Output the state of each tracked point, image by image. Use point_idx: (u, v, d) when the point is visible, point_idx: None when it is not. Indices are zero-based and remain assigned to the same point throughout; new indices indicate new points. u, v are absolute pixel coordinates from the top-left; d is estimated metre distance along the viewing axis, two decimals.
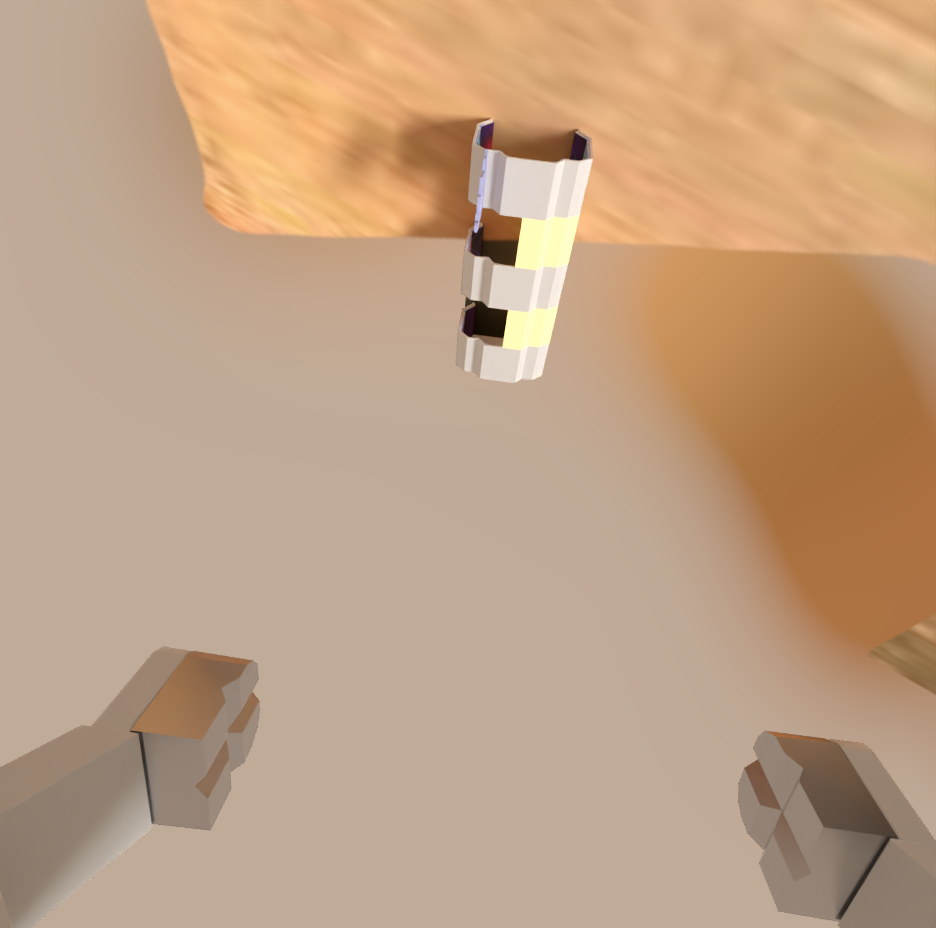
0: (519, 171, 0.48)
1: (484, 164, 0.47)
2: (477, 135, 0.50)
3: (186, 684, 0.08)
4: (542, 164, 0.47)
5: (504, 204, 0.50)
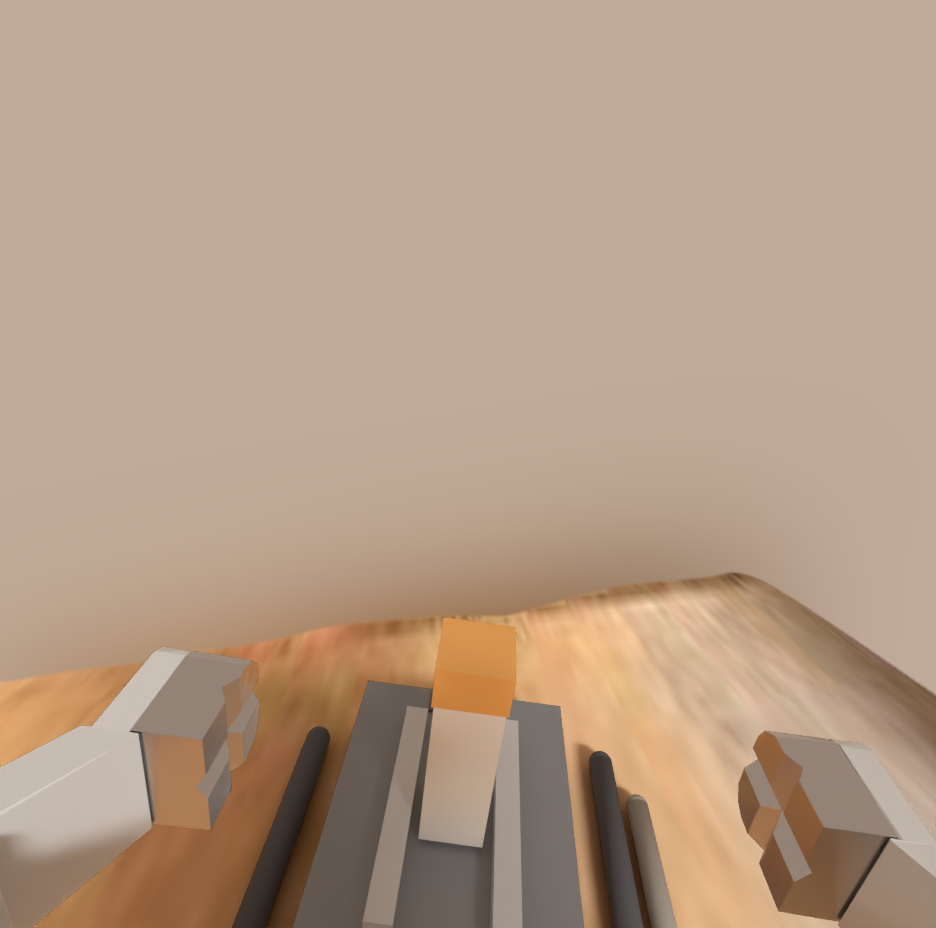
0: None
1: None
2: None
3: (186, 684, 0.08)
4: None
5: None
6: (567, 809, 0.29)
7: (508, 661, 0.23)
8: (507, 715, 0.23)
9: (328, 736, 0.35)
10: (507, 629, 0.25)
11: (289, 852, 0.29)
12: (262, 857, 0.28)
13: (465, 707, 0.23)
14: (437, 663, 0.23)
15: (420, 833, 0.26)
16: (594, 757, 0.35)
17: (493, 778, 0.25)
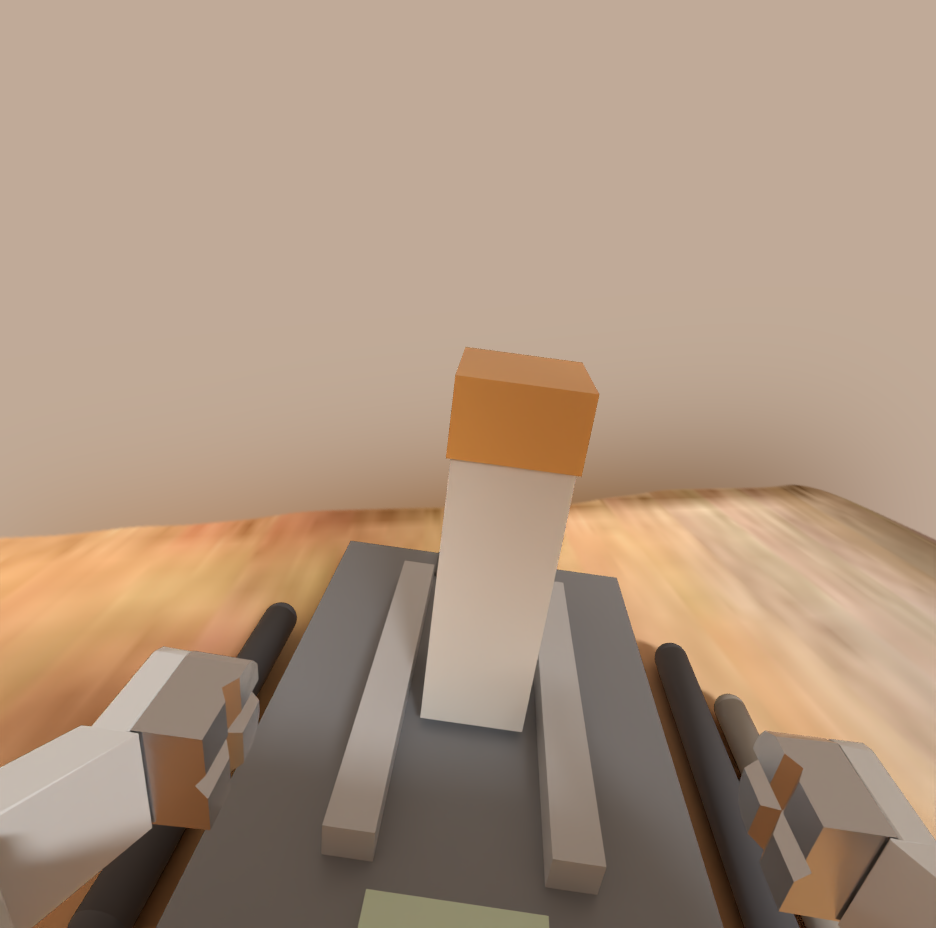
0: None
1: None
2: None
3: (186, 684, 0.08)
4: None
5: None
6: (645, 691, 0.19)
7: (580, 381, 0.13)
8: (579, 471, 0.13)
9: (294, 614, 0.25)
10: (571, 362, 0.15)
11: None
12: None
13: (505, 458, 0.13)
14: (458, 371, 0.13)
15: (424, 708, 0.17)
16: (663, 649, 0.26)
17: (547, 602, 0.15)
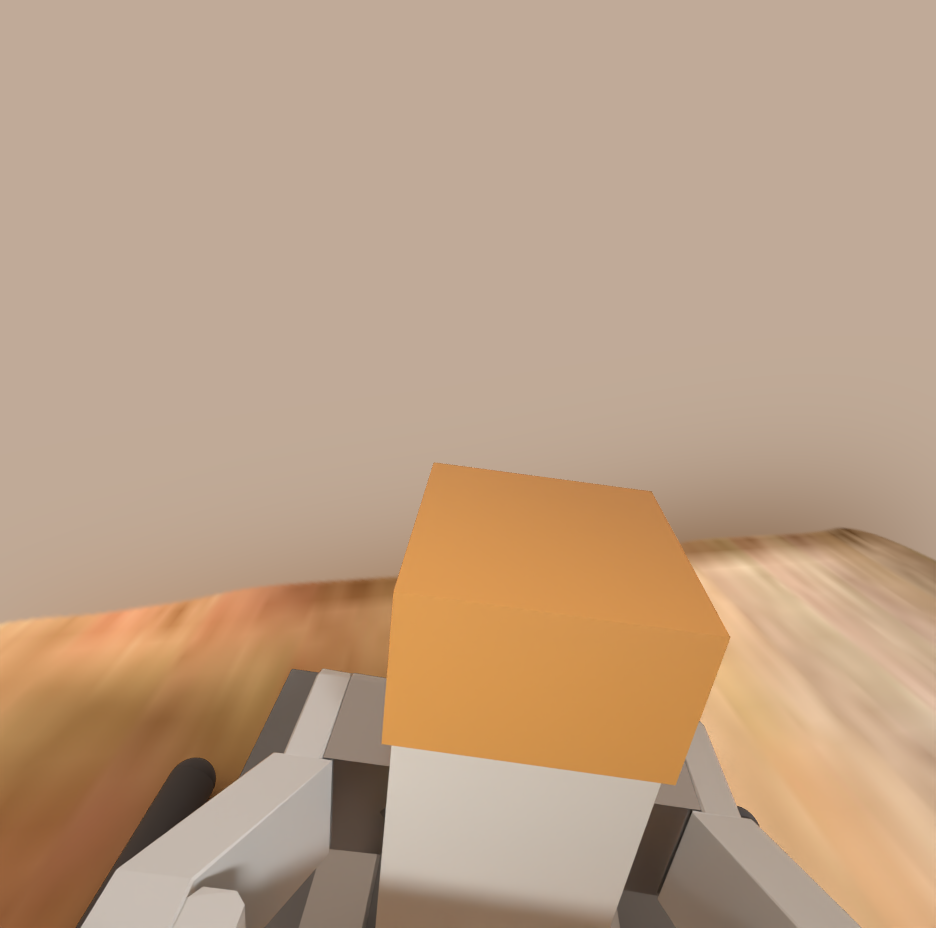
0: None
1: None
2: None
3: (361, 708, 0.08)
4: None
5: None
6: None
7: (670, 574, 0.06)
8: (670, 777, 0.06)
9: (211, 777, 0.18)
10: (632, 495, 0.08)
11: None
12: None
13: (509, 744, 0.06)
14: (404, 572, 0.06)
15: None
16: None
17: None
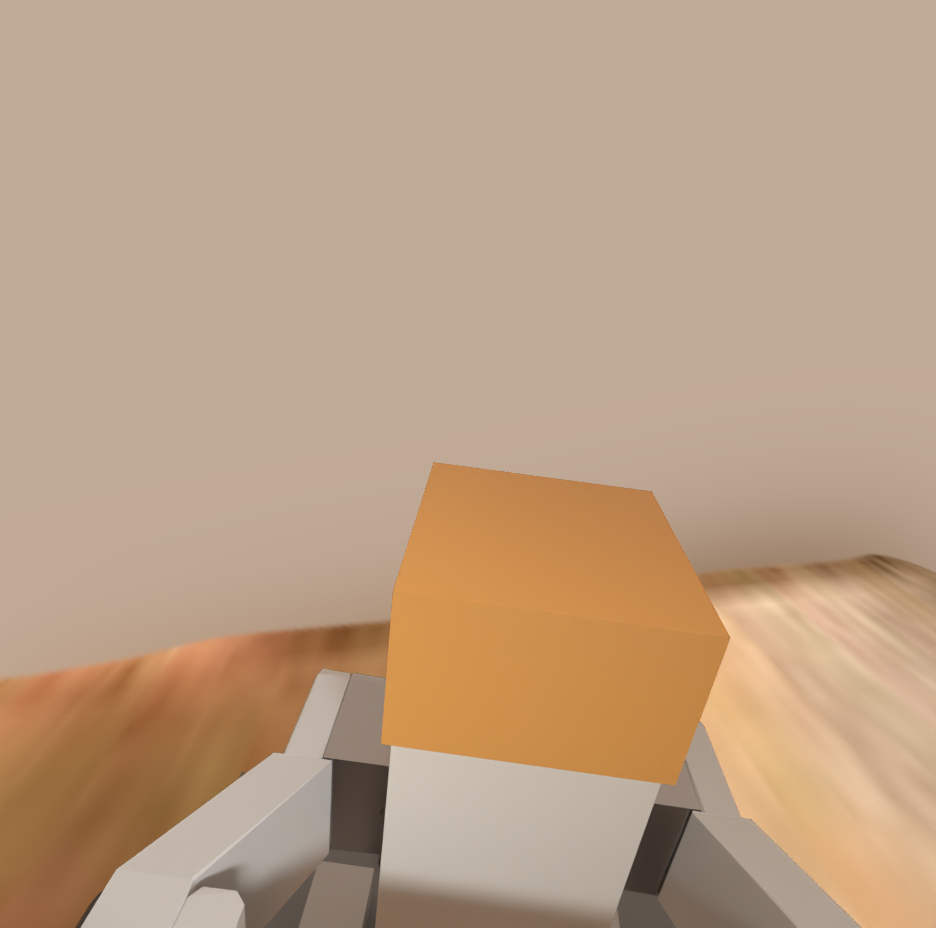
0: None
1: None
2: None
3: (360, 708, 0.08)
4: None
5: None
6: None
7: (670, 574, 0.06)
8: (670, 777, 0.06)
9: None
10: (632, 494, 0.08)
11: None
12: None
13: (509, 745, 0.06)
14: (403, 572, 0.06)
15: None
16: None
17: None
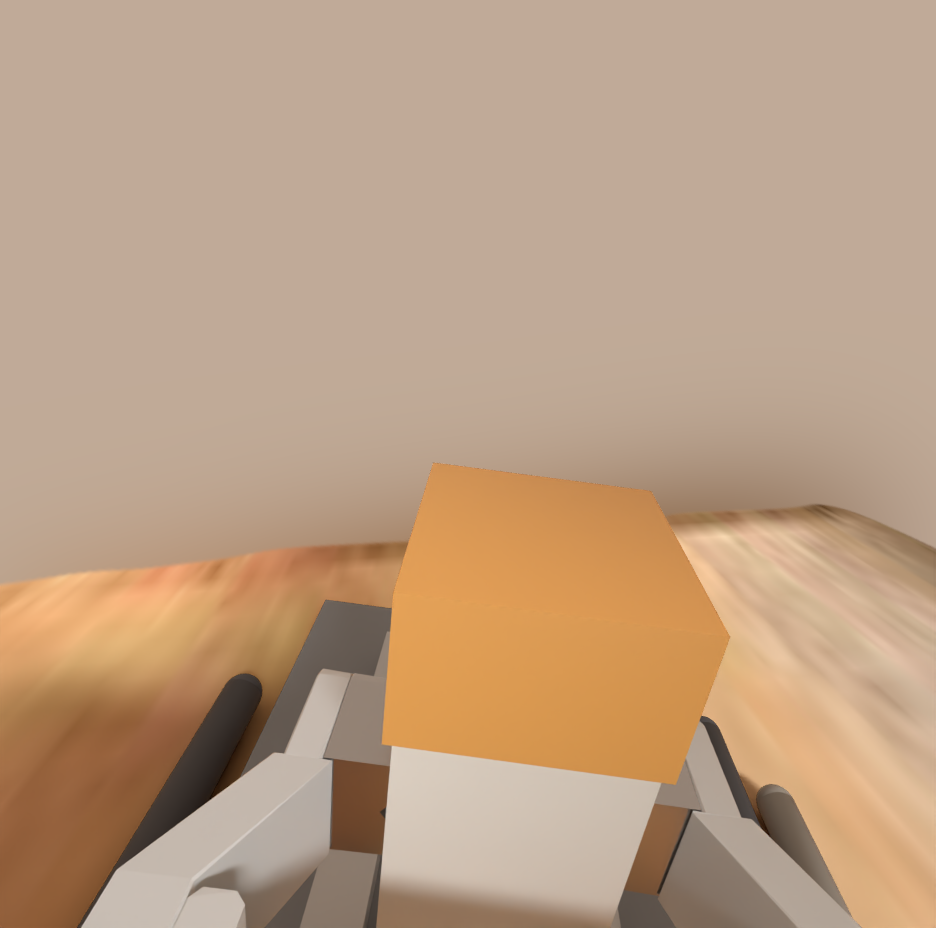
0: None
1: None
2: None
3: (361, 708, 0.08)
4: None
5: None
6: None
7: (670, 574, 0.06)
8: (670, 776, 0.06)
9: (259, 689, 0.21)
10: (631, 494, 0.08)
11: None
12: (95, 902, 0.14)
13: (509, 745, 0.06)
14: (403, 573, 0.06)
15: None
16: None
17: None
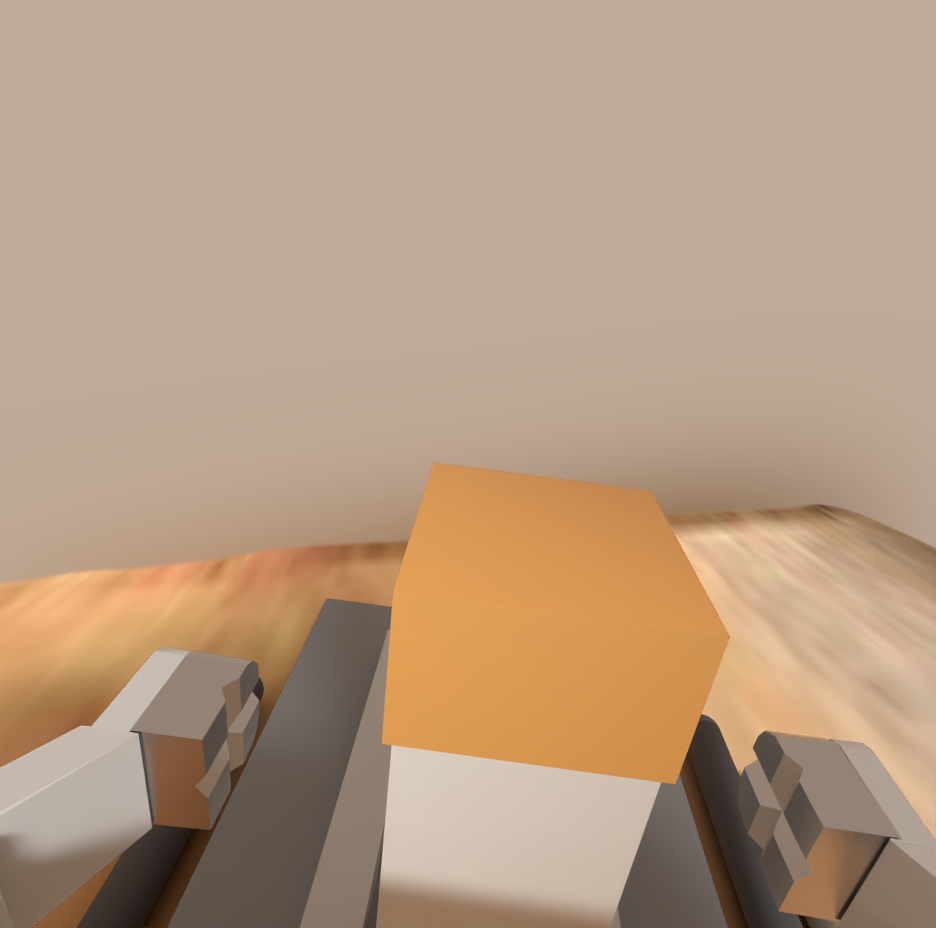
0: None
1: None
2: None
3: (186, 684, 0.08)
4: None
5: None
6: (682, 806, 0.16)
7: (670, 573, 0.06)
8: (670, 776, 0.06)
9: (260, 687, 0.21)
10: (631, 494, 0.08)
11: (157, 887, 0.15)
12: (98, 898, 0.14)
13: (509, 744, 0.06)
14: (404, 572, 0.06)
15: None
16: None
17: None
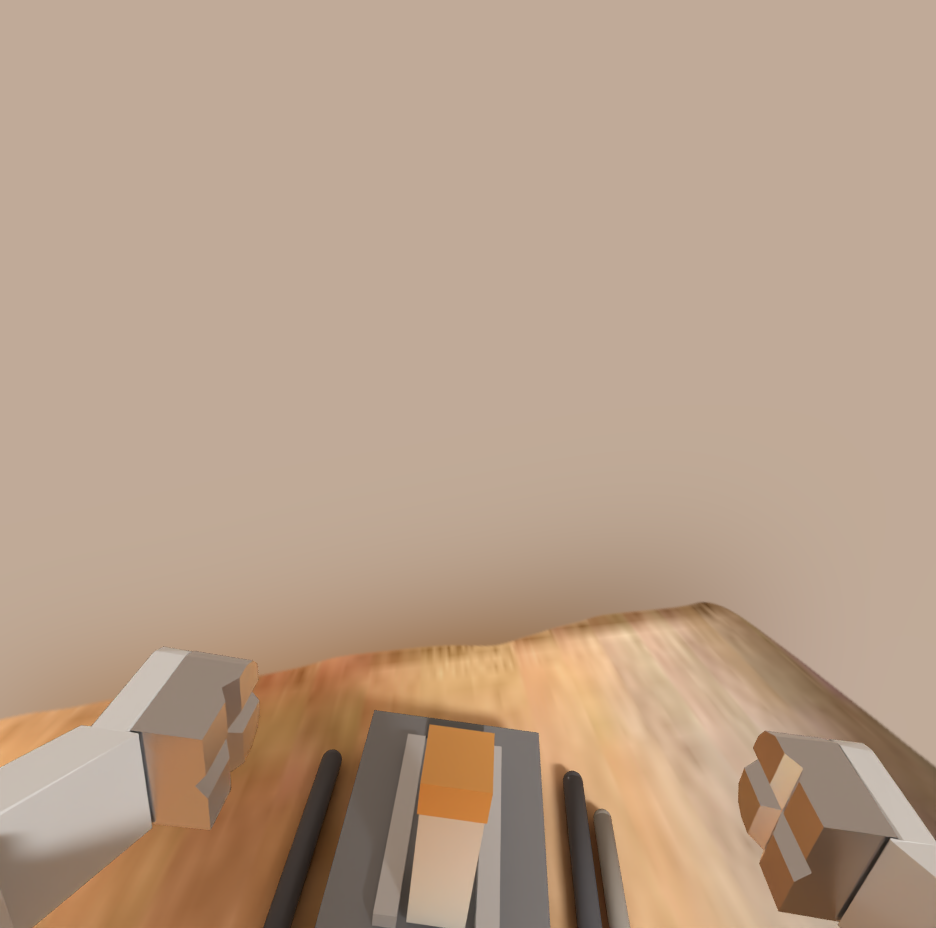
0: None
1: None
2: None
3: (186, 684, 0.08)
4: None
5: None
6: (540, 822, 0.35)
7: (486, 772, 0.26)
8: (485, 822, 0.26)
9: (340, 758, 0.41)
10: (487, 736, 0.28)
11: (310, 857, 0.35)
12: (288, 862, 0.34)
13: (447, 814, 0.26)
14: (422, 776, 0.25)
15: (408, 917, 0.29)
16: (567, 776, 0.41)
17: (473, 873, 0.27)
